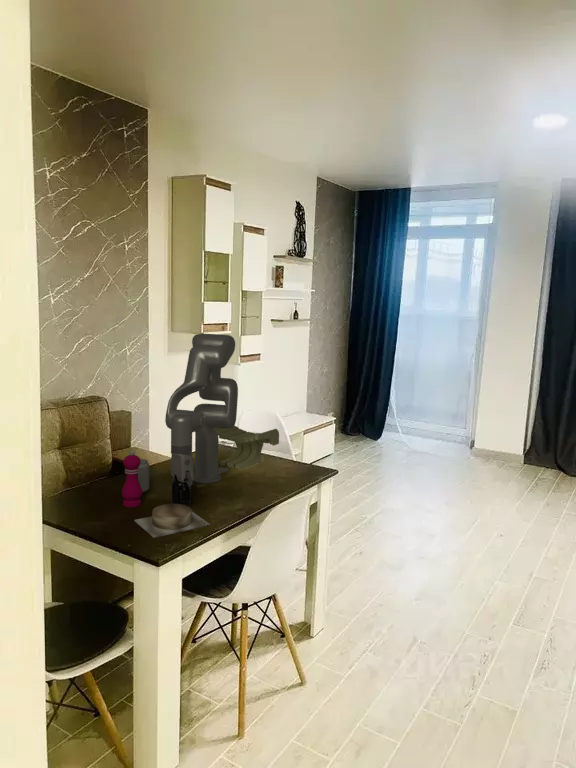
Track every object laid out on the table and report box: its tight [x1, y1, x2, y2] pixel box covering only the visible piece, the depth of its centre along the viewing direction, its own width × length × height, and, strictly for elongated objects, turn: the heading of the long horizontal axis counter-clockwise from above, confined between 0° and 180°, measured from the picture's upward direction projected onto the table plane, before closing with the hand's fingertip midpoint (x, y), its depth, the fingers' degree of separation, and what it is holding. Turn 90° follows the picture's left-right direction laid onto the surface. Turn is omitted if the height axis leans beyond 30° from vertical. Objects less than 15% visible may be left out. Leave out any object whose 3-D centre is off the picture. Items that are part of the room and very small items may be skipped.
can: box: [138, 458, 150, 494], centre depth 231 cm, size 8×8×12 cm
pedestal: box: [134, 503, 211, 539], centre depth 201 cm, size 20×16×5 cm
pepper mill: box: [121, 450, 143, 508], centre depth 215 cm, size 7×7×20 cm
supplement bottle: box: [171, 474, 192, 507], centre depth 217 cm, size 7×7×12 cm
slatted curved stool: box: [214, 425, 280, 470], centre depth 271 cm, size 30×16×18 cm, turn 57°
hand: (181, 496), depth 218 cm, fingers closed on supplement bottle, 6 cm apart
